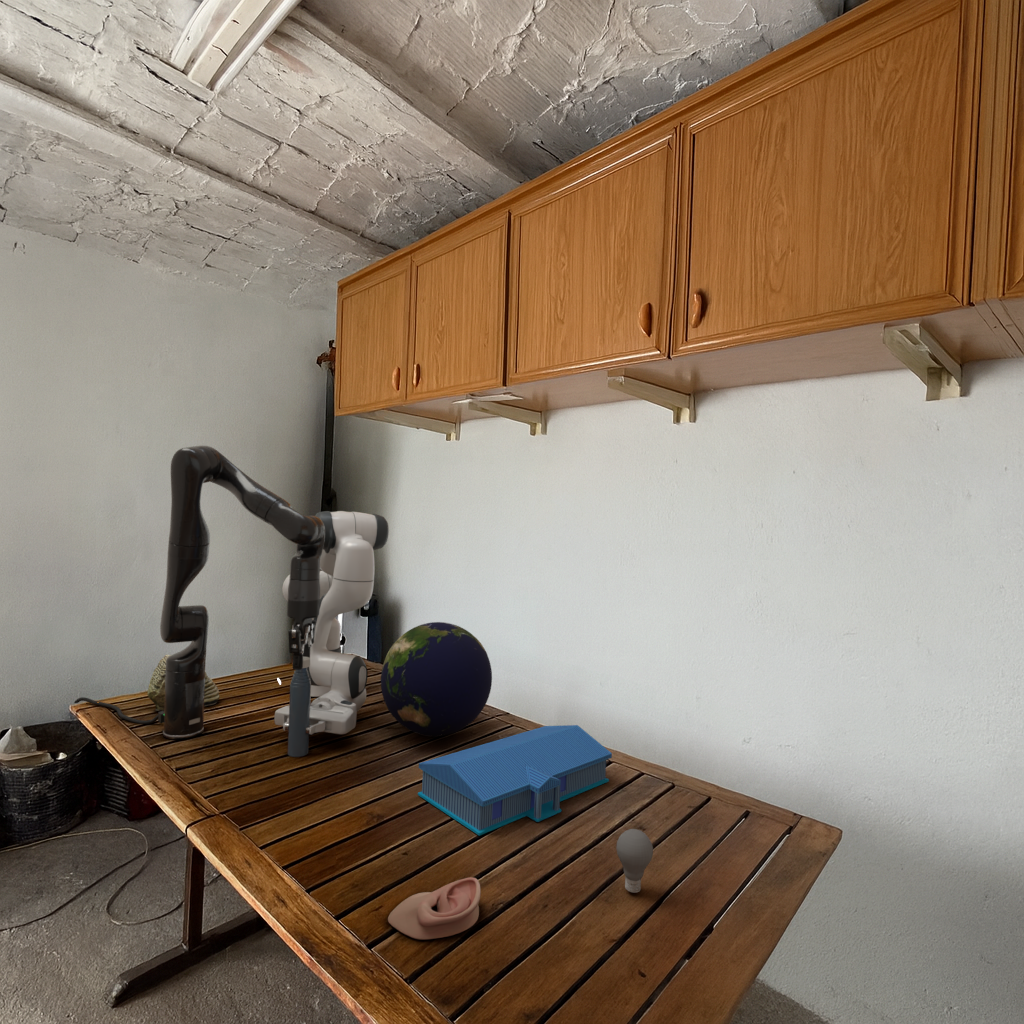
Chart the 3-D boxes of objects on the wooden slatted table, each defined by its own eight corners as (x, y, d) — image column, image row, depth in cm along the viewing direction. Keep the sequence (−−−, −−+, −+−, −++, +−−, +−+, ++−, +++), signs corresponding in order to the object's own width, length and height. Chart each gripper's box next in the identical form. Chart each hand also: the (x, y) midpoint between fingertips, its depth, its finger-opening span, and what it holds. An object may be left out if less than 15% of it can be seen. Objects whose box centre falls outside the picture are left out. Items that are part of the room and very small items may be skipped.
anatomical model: (380, 905, 93) (408, 862, 104) (379, 932, 93) (407, 886, 104) (467, 921, 90) (487, 875, 101) (466, 949, 90) (486, 900, 101)
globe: (355, 741, 164) (360, 626, 164) (415, 708, 192) (419, 609, 191) (458, 763, 153) (464, 640, 152) (506, 725, 181) (511, 620, 180)
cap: (312, 664, 157) (312, 656, 157) (307, 668, 153) (307, 661, 153) (295, 663, 157) (296, 656, 157) (290, 668, 153) (290, 660, 153)
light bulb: (610, 879, 108) (613, 822, 108) (644, 879, 109) (647, 822, 109) (619, 902, 102) (622, 840, 102) (655, 901, 103) (658, 840, 103)
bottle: (303, 757, 153) (307, 663, 153) (284, 756, 153) (287, 662, 153) (311, 749, 158) (315, 658, 157) (292, 748, 158) (296, 657, 158)
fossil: (144, 707, 182) (145, 655, 182) (212, 696, 194) (213, 647, 194) (151, 716, 175) (153, 662, 175) (221, 703, 188) (223, 653, 188)
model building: (489, 842, 118) (492, 789, 118) (416, 794, 136) (418, 748, 136) (620, 786, 145) (622, 742, 145) (544, 751, 163) (546, 712, 163)
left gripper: (310, 602, 148) (307, 675, 148) (327, 593, 162) (325, 659, 162) (278, 601, 148) (275, 673, 148) (298, 592, 162) (295, 658, 162)
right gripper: (292, 695, 171) (260, 711, 157) (361, 704, 166) (334, 721, 152) (291, 718, 171) (259, 736, 157) (360, 728, 166) (333, 747, 152)
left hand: (301, 665), depth 155 cm, fingers open, 5 cm apart
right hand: (297, 729), depth 155 cm, fingers closed on bottle, 5 cm apart
